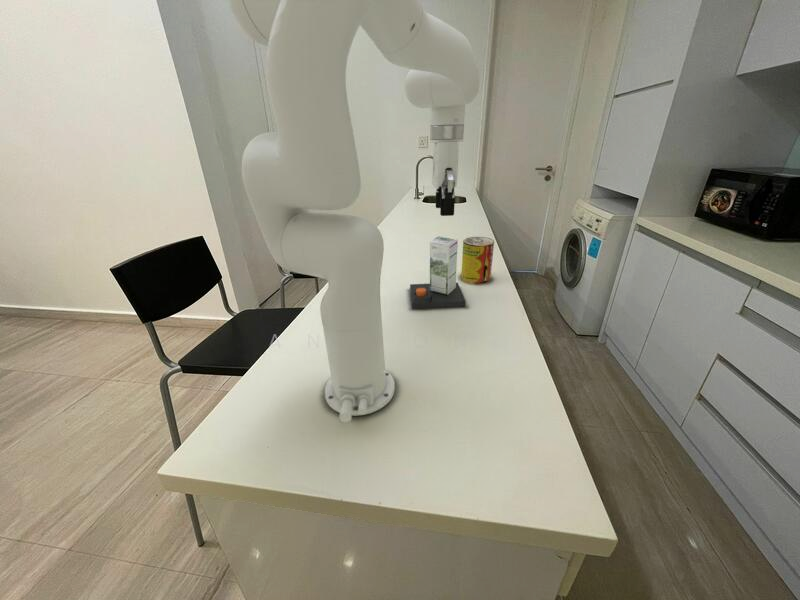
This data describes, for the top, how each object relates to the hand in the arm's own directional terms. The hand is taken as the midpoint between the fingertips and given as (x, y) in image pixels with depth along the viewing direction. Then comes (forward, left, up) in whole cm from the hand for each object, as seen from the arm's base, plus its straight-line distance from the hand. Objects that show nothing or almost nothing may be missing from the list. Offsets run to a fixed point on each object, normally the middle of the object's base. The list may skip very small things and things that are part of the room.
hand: (444, 211), depth 83 cm
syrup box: (0, 0, -22) cm, 22 cm away
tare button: (-5, +6, -21) cm, 22 cm away
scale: (-1, +2, -24) cm, 24 cm away
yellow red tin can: (+12, -12, -24) cm, 29 cm away
